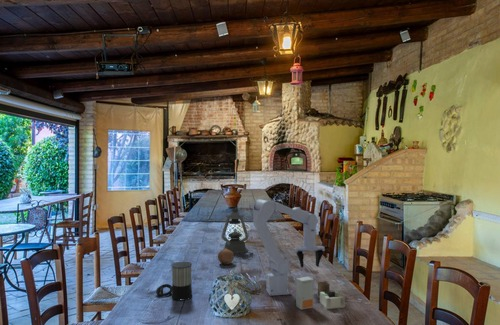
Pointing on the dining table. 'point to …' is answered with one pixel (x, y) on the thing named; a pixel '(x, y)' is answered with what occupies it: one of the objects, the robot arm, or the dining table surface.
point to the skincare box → (304, 292)
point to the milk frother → (179, 282)
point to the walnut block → (323, 287)
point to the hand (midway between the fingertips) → (309, 266)
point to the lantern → (235, 233)
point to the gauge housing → (332, 300)
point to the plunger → (330, 293)
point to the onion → (225, 256)
